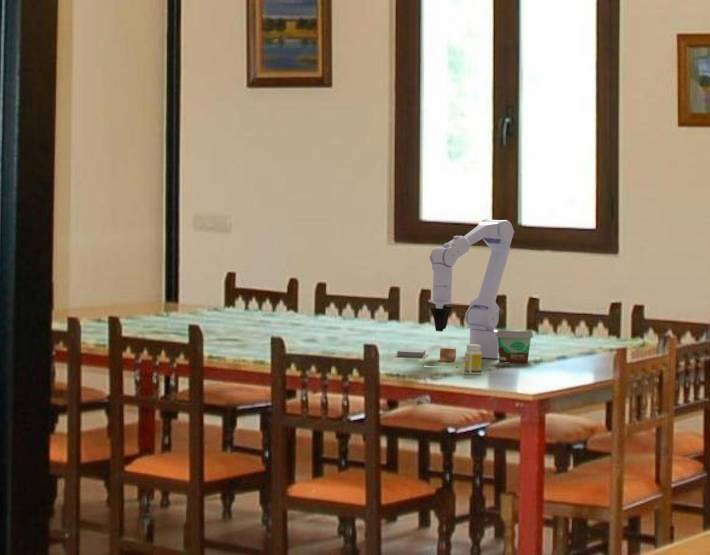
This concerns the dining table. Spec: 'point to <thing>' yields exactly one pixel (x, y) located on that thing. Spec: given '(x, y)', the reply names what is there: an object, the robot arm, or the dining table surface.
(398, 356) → the walnut base slab
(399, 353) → the slate top slab
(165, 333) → the dining table surface
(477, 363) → the supplement bottle
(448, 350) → the terracotta cube
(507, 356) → the food container
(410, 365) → the dining table surface
